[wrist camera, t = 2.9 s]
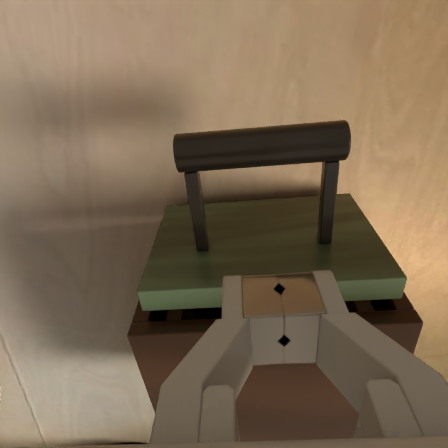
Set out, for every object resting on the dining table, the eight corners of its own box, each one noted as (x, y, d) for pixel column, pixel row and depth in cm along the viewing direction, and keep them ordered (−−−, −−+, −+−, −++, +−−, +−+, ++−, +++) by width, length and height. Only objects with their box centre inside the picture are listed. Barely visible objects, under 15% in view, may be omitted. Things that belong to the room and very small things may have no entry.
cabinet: (164, 221, 23) (126, 335, 14) (352, 209, 22) (424, 322, 14) (193, 357, 30) (179, 482, 22) (333, 351, 29) (372, 479, 21)
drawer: (147, 111, 18) (97, 166, 11) (362, 92, 17) (445, 138, 10) (195, 345, 28) (183, 446, 21) (331, 339, 27) (364, 442, 21)
